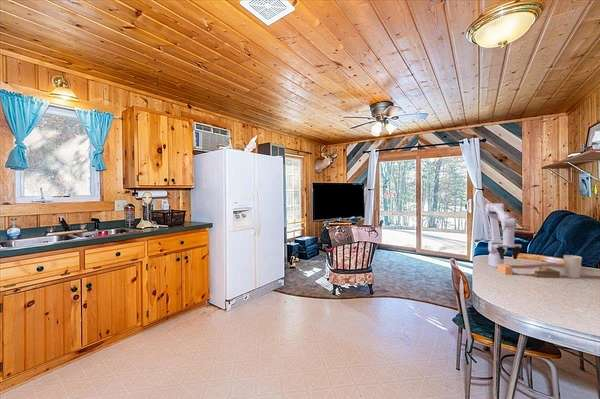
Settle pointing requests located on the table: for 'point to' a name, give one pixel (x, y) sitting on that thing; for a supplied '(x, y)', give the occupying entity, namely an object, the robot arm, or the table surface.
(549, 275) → the wooden l-shaped bracket
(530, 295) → the table surface
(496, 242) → the robot arm
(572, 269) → the cup
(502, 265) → the block
